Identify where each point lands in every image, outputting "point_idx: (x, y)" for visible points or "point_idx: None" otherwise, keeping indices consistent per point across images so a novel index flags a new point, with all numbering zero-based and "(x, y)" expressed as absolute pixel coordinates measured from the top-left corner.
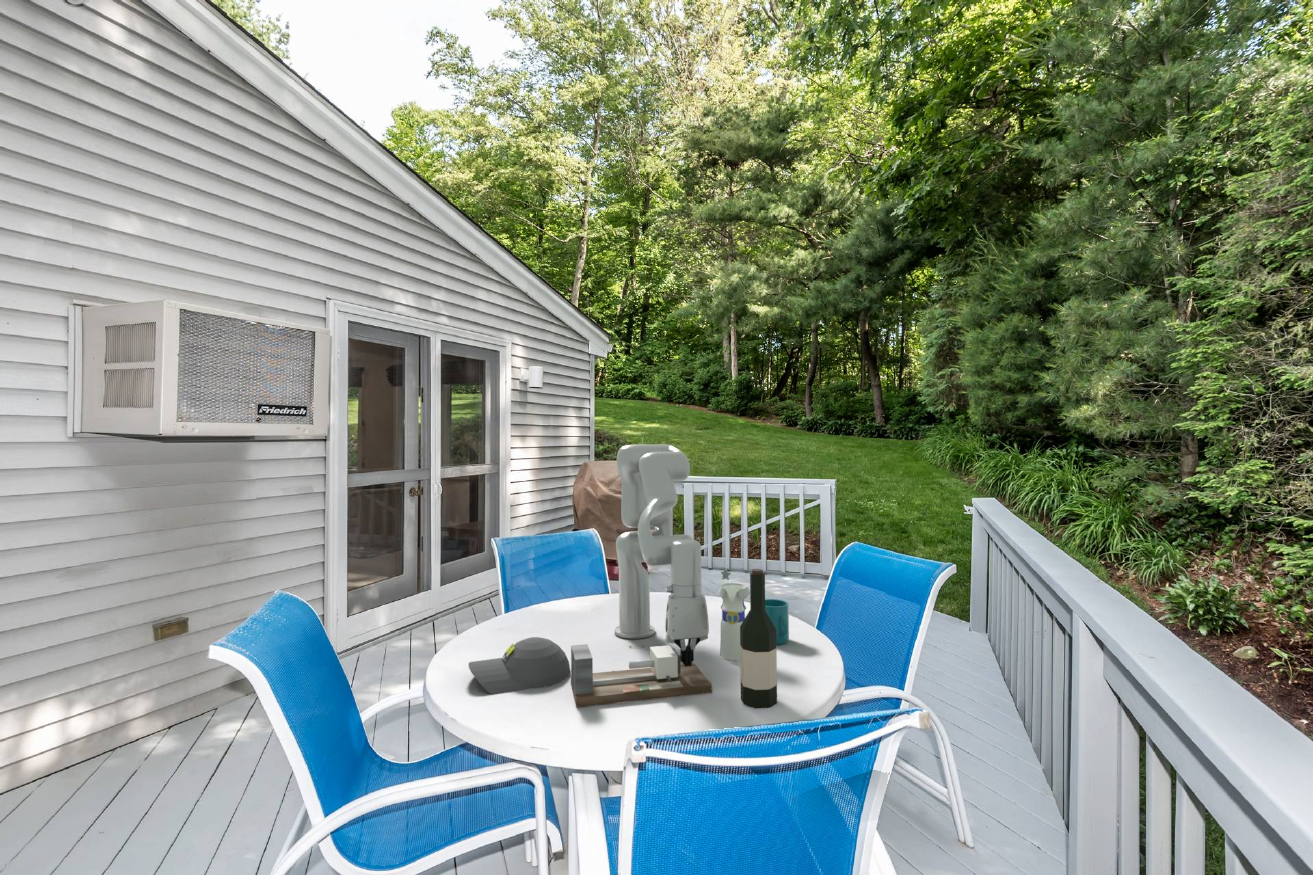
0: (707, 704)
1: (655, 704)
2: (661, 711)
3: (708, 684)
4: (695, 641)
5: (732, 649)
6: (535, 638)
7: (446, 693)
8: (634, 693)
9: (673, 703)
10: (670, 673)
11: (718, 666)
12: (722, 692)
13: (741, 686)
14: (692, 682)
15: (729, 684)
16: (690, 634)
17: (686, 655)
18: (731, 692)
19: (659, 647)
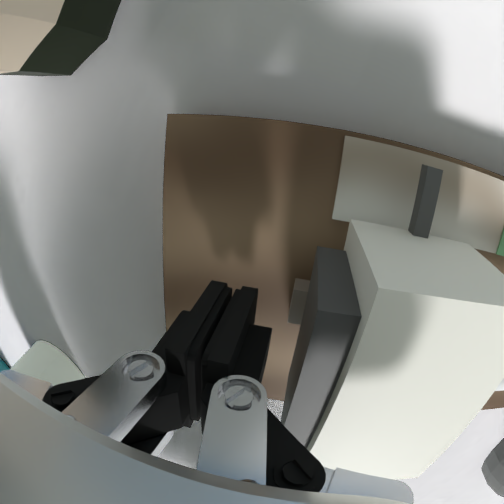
0: (261, 6)
1: (487, 113)
2: (480, 43)
3: (184, 116)
4: (87, 395)
5: (44, 372)
6: None
7: None
8: None
9: (417, 77)
10: (405, 236)
11: (99, 342)
12: (142, 108)
13: (75, 10)
14: (260, 175)
15: (92, 182)
16: (74, 486)
17: (232, 331)
18: (111, 100)
19: (377, 469)
